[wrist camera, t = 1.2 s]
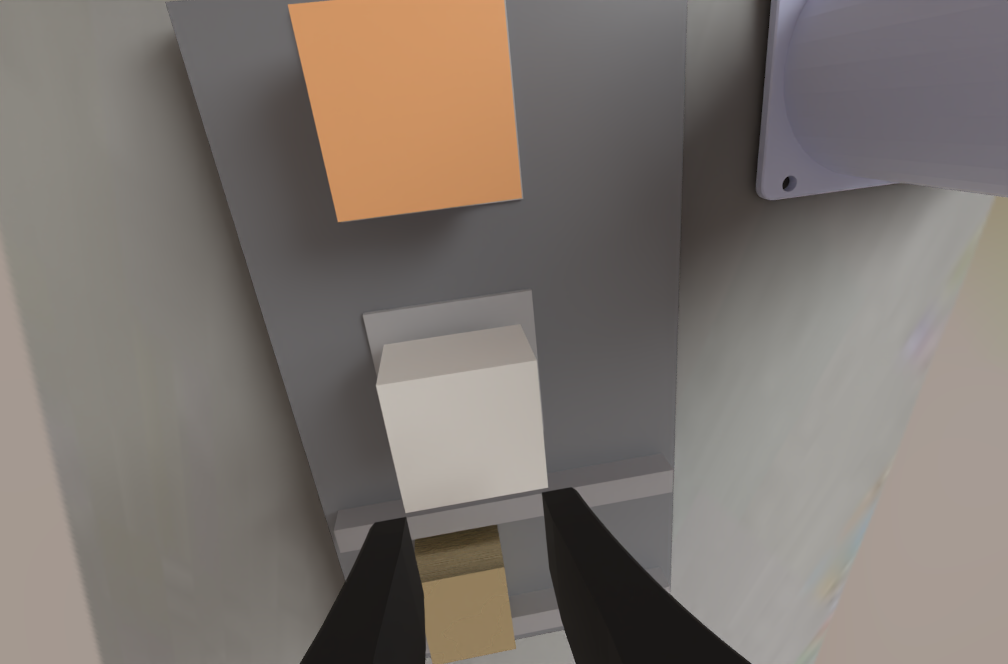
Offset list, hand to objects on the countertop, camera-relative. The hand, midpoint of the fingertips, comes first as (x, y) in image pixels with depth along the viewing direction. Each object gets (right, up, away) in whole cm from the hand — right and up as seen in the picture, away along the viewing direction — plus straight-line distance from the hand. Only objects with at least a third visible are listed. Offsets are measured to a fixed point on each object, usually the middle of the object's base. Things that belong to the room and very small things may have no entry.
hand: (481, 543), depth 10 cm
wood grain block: (-1, -5, +10) cm, 11 cm away
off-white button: (-1, +2, +6) cm, 6 cm away
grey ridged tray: (0, +3, +9) cm, 10 cm away
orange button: (-2, +10, +2) cm, 10 cm away
